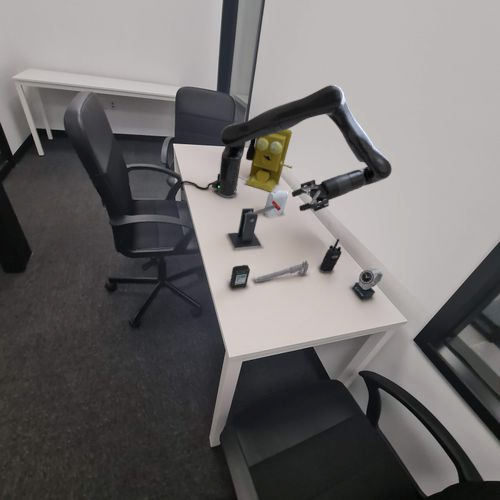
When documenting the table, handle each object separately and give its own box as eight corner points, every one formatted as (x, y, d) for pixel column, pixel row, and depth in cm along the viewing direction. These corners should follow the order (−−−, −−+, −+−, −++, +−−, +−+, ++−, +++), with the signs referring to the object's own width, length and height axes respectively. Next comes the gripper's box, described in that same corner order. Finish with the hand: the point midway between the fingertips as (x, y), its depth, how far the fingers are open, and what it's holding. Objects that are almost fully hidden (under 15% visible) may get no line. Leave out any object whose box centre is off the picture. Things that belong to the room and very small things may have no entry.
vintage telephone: (229, 179, 148) (237, 123, 129) (237, 171, 158) (245, 118, 140) (282, 195, 144) (298, 139, 125) (287, 186, 155) (302, 133, 136)
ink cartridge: (231, 289, 84) (235, 271, 80) (229, 284, 86) (233, 266, 81) (246, 287, 86) (250, 269, 81) (243, 282, 88) (247, 264, 83)
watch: (347, 289, 94) (361, 267, 88) (364, 285, 98) (378, 263, 91) (358, 301, 90) (372, 279, 84) (374, 297, 94) (390, 275, 87)
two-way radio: (321, 273, 99) (336, 241, 90) (316, 265, 102) (330, 233, 93) (333, 272, 100) (350, 241, 91) (328, 264, 104) (343, 233, 94)
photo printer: (278, 210, 131) (285, 187, 123) (283, 214, 128) (290, 191, 121) (262, 213, 125) (267, 189, 118) (267, 218, 123) (273, 194, 115)
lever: (275, 204, 102) (274, 199, 100) (280, 210, 99) (280, 205, 97) (244, 216, 101) (243, 211, 99) (248, 223, 97) (247, 218, 95)
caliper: (304, 272, 97) (309, 259, 93) (305, 274, 96) (311, 261, 93) (253, 280, 89) (257, 267, 85) (255, 283, 89) (258, 269, 85)
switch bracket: (252, 233, 111) (259, 205, 102) (260, 247, 104) (268, 217, 96) (227, 235, 107) (232, 206, 98) (234, 249, 100) (240, 219, 92)
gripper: (328, 168, 102) (288, 183, 102) (345, 190, 93) (301, 206, 93) (328, 183, 107) (290, 197, 108) (344, 205, 98) (303, 220, 99)
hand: (295, 201), depth 101 cm, fingers open, 8 cm apart
